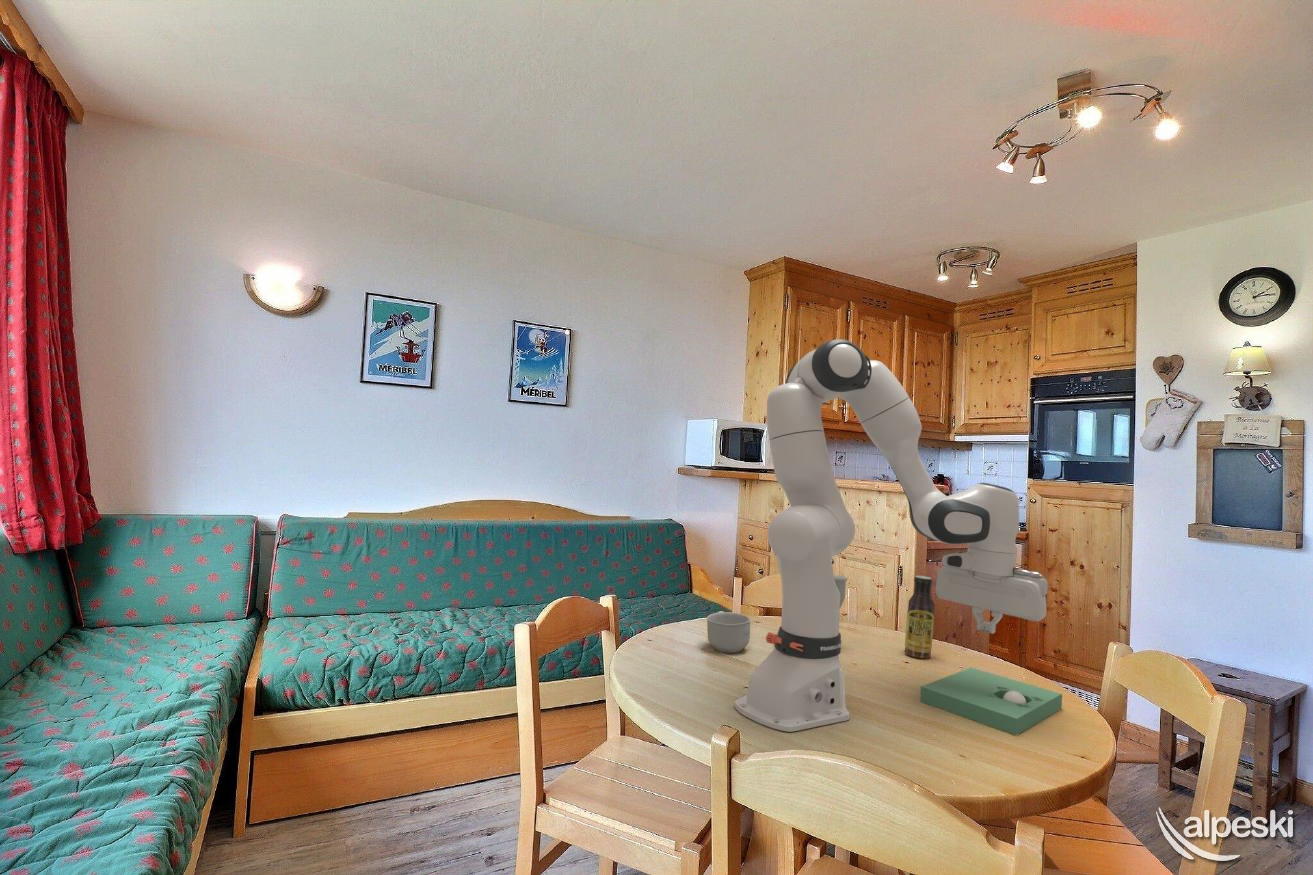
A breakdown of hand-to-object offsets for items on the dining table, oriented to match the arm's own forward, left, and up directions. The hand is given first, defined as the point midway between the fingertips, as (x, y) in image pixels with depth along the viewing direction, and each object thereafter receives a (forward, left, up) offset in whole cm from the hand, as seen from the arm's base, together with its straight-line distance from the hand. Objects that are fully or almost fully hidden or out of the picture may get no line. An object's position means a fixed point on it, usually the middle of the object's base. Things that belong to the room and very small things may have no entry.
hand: (986, 631), depth 126 cm
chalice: (+5, +40, -15) cm, 43 cm away
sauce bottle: (+19, +24, -15) cm, 34 cm away
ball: (0, -6, -12) cm, 14 cm away
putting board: (+1, -1, -15) cm, 15 cm away
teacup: (-19, +54, -15) cm, 59 cm away
